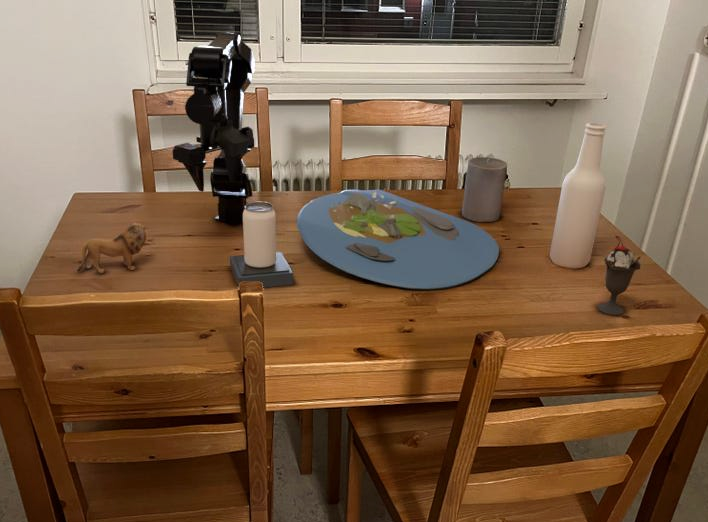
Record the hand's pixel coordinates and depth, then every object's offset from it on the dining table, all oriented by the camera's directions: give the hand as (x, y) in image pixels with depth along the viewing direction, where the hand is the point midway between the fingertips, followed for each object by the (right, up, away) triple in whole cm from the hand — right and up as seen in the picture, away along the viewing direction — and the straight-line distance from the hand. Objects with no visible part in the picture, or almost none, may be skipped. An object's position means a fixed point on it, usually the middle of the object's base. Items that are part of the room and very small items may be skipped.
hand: (217, 186), depth 161 cm
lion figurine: (-20, -19, -7) cm, 28 cm away
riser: (+11, -20, -8) cm, 24 cm away
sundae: (+80, -28, -15) cm, 86 cm away
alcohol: (+78, -16, +4) cm, 80 cm away
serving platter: (+39, -13, +7) cm, 42 cm away
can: (+11, -18, -9) cm, 23 cm away
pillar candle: (+62, -1, +27) cm, 68 cm away
